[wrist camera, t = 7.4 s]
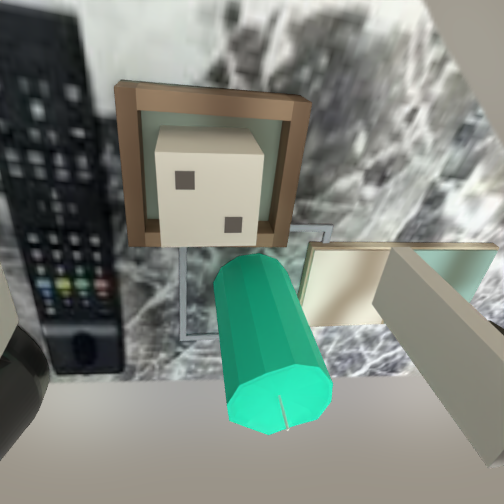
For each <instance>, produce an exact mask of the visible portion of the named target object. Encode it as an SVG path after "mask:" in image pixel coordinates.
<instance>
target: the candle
mask: <svg viewBox="0 0 504 504" xmlns="http://www.w3.org/2000/svg"><path fill="white" fill-rule="evenodd" d="M213 285H214V294H215V303H216V312H217V321H218V330H219V339H220V348H221V357H222V366H223V375H224V383H225V393H226V401H227V408H228V415H229V421H231V422H234V423H237V424H240V425H242V426H245V427H247V428H250V429H253V430H256V431H259V432H262V433H264V434H267V435H270V434H273V433H275V432H278V431H281V430H284V429H286V430H287V431H289V427H292V426H295V425H299V424H303V423H306V422H310V421H313V420H317V419H318V418H319V417H320V415H321V414H322V413H323V411H324V410H325V409H326V408H327V406H328V405H329V404H330V402H331V399H332V387H333V382H332V380H331V377H330V375H329V373H328V370H327V368H326V365H325V363H324V360H323V358H322V356H321V353H320V351H319V348H318V346H317V343H316V341H315V339H314V336H313V334H312V331H311V329H310V326H309V324H308V321H307V319H306V317H305V314H304V312H303V309H302V307H301V304H300V302H299V300H298V297H297V295H296V292H295V290H294V287H293V285H292V283H291V280H290V278H289V275H288V273H287V271H286V270H285V269H284V267H283V266H282V265H281V264H280V262H279V261H278V260H277V259H275V258H272V257H269V256H266V255H263V254H260V253H257V254H250V255H243V256H238V257H236V258H235V259H233V260H232V261H230V262H229V263H227V264H226V265H224V266H222V267H221V269H220V271H219V273H218V275H217V277H216V278H215V280H214V282H213Z"/></svg>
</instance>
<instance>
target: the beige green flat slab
mask: <svg viewBox="0 0 504 504" xmlns="http://www.w3.org/2000/svg"><path fill="white" fill-rule="evenodd" d="M391 247H410V248H411V249H413V250H414V251H415V252H416V253H417V254H418V255H419V256H420V257H421V258H422V259H423V260H424V261H425V262H426V263H427V264H428V265H429V266H431V267H432V268H433V269H434V270H435V271H436V272H437V273H438V274H439V275H440V276H441V277H442V278H443V279H444V280H445V281H446V282H447V283H449V284H450V285H451V286H452V287H453V288H454V289H455V290H456V291H457V292H458V293H459V294H460V295H461V296H462V297H463V298H464V299H465V300H467V301H468V302H469V303H470V301H471V300H472V298H473V296H474V294H475V292H476V290H477V288H478V287H479V285H480V283H481V281H482V279H483V277H484V276H485V274H486V272H487V270H488V268H489V266H490V264H491V263H492V261H493V259H494V257H495V255H496V253H497V252H498V249H499V247H498V246H497V245H495V244H494V243H401V242H329V243H322V242H309V246H308V250H307V255H306V260H305V264H304V269H303V274H302V278H301V283H300V288H299V292H298V300H299V302H300V304H301V307H302V309H303V312H304V314H305V317H306V319H307V321H308V324H309V326H310V327H319V326H344V325H368V324H385V322H384V321H383V319H382V318H381V317H380V315H379V314H378V312H377V311H376V309H375V308H374V307H373V305H372V301H373V298H374V296H375V293H376V290H377V287H378V284H379V281H380V278H381V276H382V273H383V270H384V267H385V264H386V261H387V259H388V256H389V253H390V250H391Z"/></svg>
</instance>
